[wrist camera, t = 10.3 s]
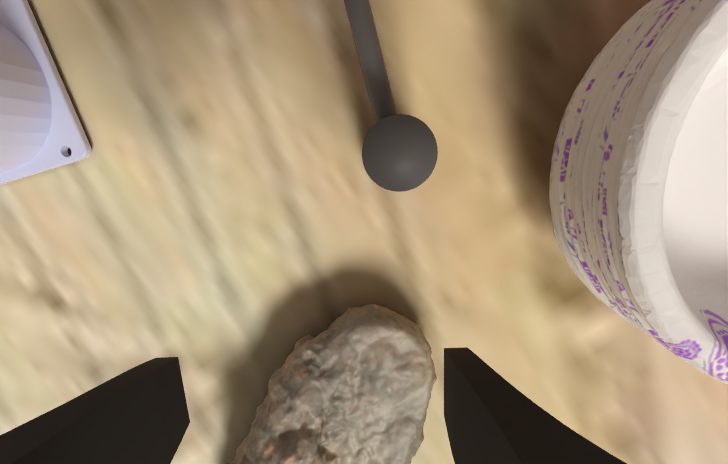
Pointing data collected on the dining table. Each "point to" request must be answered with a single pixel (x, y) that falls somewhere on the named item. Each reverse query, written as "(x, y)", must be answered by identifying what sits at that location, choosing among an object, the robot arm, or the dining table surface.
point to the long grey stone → (347, 395)
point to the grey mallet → (388, 116)
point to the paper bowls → (653, 178)
